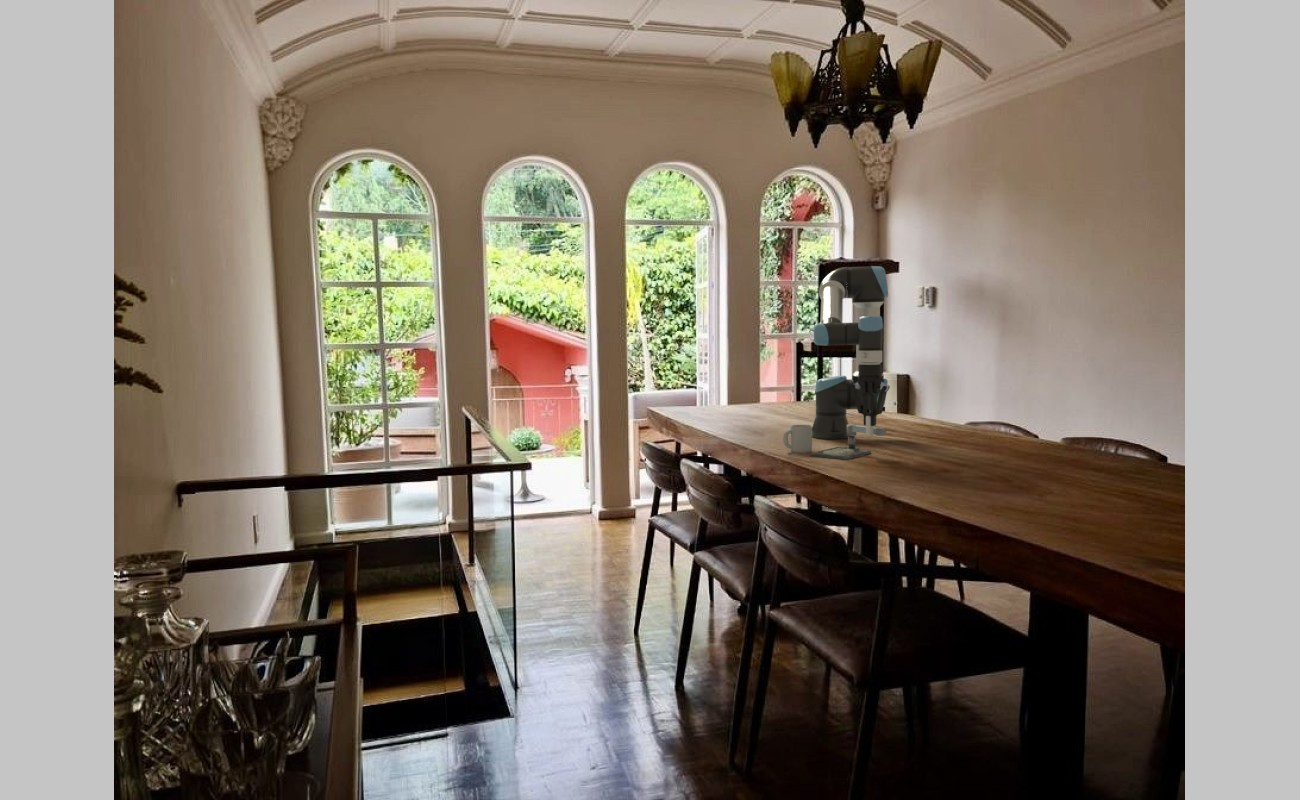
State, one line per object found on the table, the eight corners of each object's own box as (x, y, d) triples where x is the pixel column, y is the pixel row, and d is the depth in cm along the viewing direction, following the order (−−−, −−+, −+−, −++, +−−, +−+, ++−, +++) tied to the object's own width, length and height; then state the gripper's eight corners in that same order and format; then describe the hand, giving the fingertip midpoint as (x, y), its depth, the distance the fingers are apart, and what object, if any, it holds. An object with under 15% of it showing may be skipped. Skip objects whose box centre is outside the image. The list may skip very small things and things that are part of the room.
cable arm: (844, 434, 275) (844, 424, 274) (851, 434, 276) (851, 423, 276) (880, 439, 262) (880, 428, 262) (886, 438, 264) (886, 427, 263)
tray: (837, 449, 281) (837, 434, 280) (871, 453, 272) (871, 437, 271) (811, 455, 269) (811, 439, 268) (846, 459, 260) (846, 442, 259)
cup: (814, 452, 276) (814, 426, 275) (786, 453, 275) (786, 427, 274) (808, 449, 283) (808, 424, 282) (780, 450, 282) (780, 425, 281)
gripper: (846, 363, 264) (846, 435, 266) (882, 364, 255) (882, 438, 257) (858, 362, 269) (858, 432, 271) (894, 363, 260) (893, 435, 262)
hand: (869, 435), depth 264 cm, fingers closed
